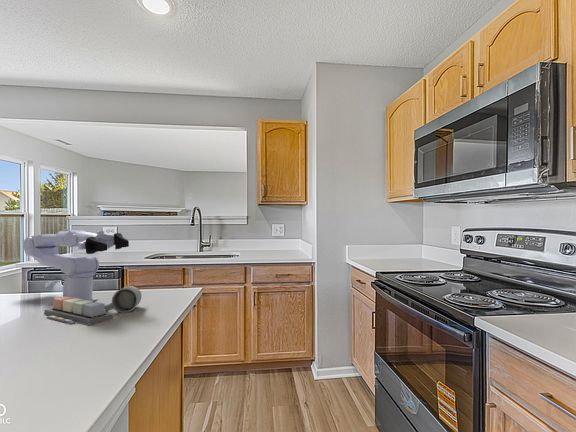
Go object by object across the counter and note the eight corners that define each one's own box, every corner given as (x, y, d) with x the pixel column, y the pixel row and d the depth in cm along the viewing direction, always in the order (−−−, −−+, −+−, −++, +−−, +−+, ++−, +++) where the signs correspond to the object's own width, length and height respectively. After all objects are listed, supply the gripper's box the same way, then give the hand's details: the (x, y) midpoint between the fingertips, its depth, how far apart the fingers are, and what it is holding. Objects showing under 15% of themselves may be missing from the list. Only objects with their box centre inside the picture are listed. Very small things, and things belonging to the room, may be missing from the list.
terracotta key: (53, 308, 105) (53, 298, 105) (65, 305, 108) (65, 296, 108) (60, 309, 103) (60, 300, 103) (73, 307, 106) (73, 297, 106)
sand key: (62, 310, 102) (63, 300, 102) (75, 307, 106) (75, 298, 106) (70, 312, 101) (70, 302, 101) (83, 309, 104) (83, 299, 104)
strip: (46, 318, 100) (46, 315, 100) (50, 317, 101) (50, 314, 101) (71, 324, 95) (71, 321, 95) (74, 323, 95) (75, 320, 95)
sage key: (73, 312, 100) (73, 302, 100) (85, 309, 104) (85, 300, 104) (81, 314, 99) (81, 304, 99) (93, 311, 102) (93, 301, 102)
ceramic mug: (142, 305, 116) (142, 283, 116) (137, 312, 108) (137, 288, 108) (108, 307, 113) (108, 284, 113) (100, 314, 105) (100, 289, 105)
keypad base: (44, 314, 104) (44, 309, 104) (67, 308, 110) (67, 304, 110) (90, 325, 94) (90, 320, 94) (112, 318, 100) (113, 313, 100)
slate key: (83, 315, 98) (83, 304, 98) (96, 312, 101) (96, 302, 101) (92, 317, 96) (92, 306, 96) (104, 313, 100) (104, 303, 100)
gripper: (70, 232, 110) (95, 236, 104) (111, 227, 123) (136, 230, 117) (70, 253, 111) (95, 258, 105) (112, 246, 124) (136, 250, 117)
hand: (117, 245), depth 111 cm, fingers open, 7 cm apart
